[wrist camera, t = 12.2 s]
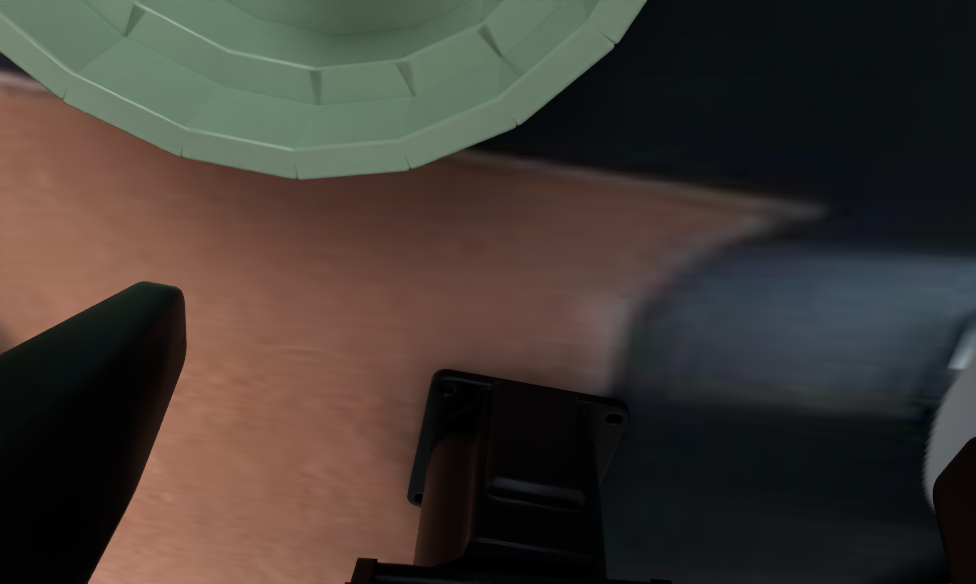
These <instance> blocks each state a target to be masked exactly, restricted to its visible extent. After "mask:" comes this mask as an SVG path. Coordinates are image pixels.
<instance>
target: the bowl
mask: <svg viewBox="0 0 976 584" xmlns="http://www.w3.org/2000/svg"><path fill="white" fill-rule="evenodd" d="M646 2H647V0H0V52H1V53H2V54H4V55H5V56H6V57H8V58H9V59H10V60H11V61H13V62H14V63H15V64H16V65H18V66H19V67H20V68H21V69H23V70H24V71H25V72H27V73H28V74H29V75H30V76H32V77H33V78H34V79H35V80H37V81H38V82H39V83H40V84H42V85H43V86H44V87H46V88H47V89H48V90H49V91H51V92H52V93H53V94H54V95H56V96H57V97H58V98H60V99H64V102H65V103H66V104H69V105H71V106H73V107H75V108H77V109H79V110H81V111H83V112H85V113H87V114H90V115H92V116H94V117H96V118H98V119H100V120H102V121H104V122H106V123H108V124H111V125H113V126H115V127H117V128H119V129H121V130H123V131H125V132H127V133H129V134H132V135H134V136H136V137H138V138H140V139H142V140H144V141H146V142H148V143H150V144H153V145H155V146H157V147H159V148H161V149H163V150H165V151H167V152H169V153H171V154H174V155H176V156H178V157H181V156H183V157H184V158H187V159H192V160H197V161H202V162H207V163H212V164H218V165H223V166H228V167H233V168H238V169H243V170H248V171H253V172H258V173H263V174H268V175H273V176H278V177H284V178H289V179H297V178H298V179H299V180H307V179H319V178H331V177H343V176H354V175H366V174H378V173H390V172H402V171H408V170H410V168H411V169H415V168H418V167H420V166H423V165H425V164H428V163H430V162H433V161H435V160H438V159H440V158H443V157H445V156H448V155H450V154H453V153H455V152H457V151H460V150H462V149H465V148H467V147H470V146H472V145H475V144H477V143H480V142H482V141H485V140H487V139H490V138H492V137H495V136H497V135H499V134H502V133H504V132H507V131H509V130H512V129H514V128H515V127H516V126H517V125H521V124H522V123H524V122H525V121H526V120H527V119H528V118H530V117H531V116H532V115H533V114H535V113H536V112H537V111H538V110H539V109H541V108H542V107H543V106H544V105H546V104H547V103H548V102H549V101H550V100H552V99H553V98H554V97H555V96H556V95H558V94H559V93H560V92H561V91H563V90H564V89H565V88H566V87H567V86H569V85H570V84H571V83H572V82H573V81H575V80H576V79H577V78H578V77H580V76H581V75H582V74H583V73H584V72H586V71H587V70H588V69H589V68H590V67H592V66H593V65H594V64H595V63H597V62H598V61H599V60H600V59H601V58H603V57H604V56H605V55H606V54H607V53H609V52H610V51H611V50H612V49H613V48H614V46H615V45H614V44H617V43H618V42H620V40H621V39H622V37H623V36H624V34H625V33H626V31H627V30H628V28H629V27H630V25H631V24H632V23H633V21H634V20H635V18H636V17H637V15H638V14H639V12H640V11H641V9H642V8H643V6H644V5H645V3H646Z"/></svg>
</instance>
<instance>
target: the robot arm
mask: <svg viewBox="0 0 976 584" xmlns="http://www.w3.org/2000/svg"><path fill="white" fill-rule="evenodd" d="M186 349H187V341H186V319H185V300H184V296H183V293H182V291H181V290H180V289H179V288H178V287H175V286H169V285H164V284H158V283H153V282H144V281H143V282H139V283H136V284H134V285H132V286H130V287H128V288H127V289H125V290H123V291H121V292H119V293H117V294H115V295H113V296H111V297H109V298H107V299H106V300H104V301H102V302H100V303H98V304H96V305H94V306H92V307H90V308H88V309H86V310H85V311H83V312H81V313H79V314H77V315H75V316H73V317H71V318H69V319H67V320H65V321H64V322H62V323H60V324H58V325H56V326H54V327H52V328H50V329H48V330H46V331H44V332H42V333H41V334H39V335H37V336H35V337H33V338H31V339H29V340H27V341H25V342H23V343H21V344H20V345H18V346H16V347H14V348H12V349H10V350H8V351H6V352H4V353H2V354H0V584H88V582H89V580H90V578H91V576H92V574H93V572H94V570H95V568H96V566H97V564H98V563H99V561H100V559H101V557H102V555H103V553H104V551H105V549H106V547H107V545H108V543H109V542H110V540H111V538H112V536H113V534H114V532H115V530H116V528H117V526H118V524H119V522H120V521H121V519H122V517H123V515H124V513H125V511H126V509H127V507H128V505H129V503H130V501H131V499H132V497H133V495H134V493H135V490H136V488H137V486H138V483H139V481H140V478H141V476H142V473H143V471H144V468H145V466H146V463H147V460H148V458H149V455H150V452H151V450H152V447H153V445H154V442H155V439H156V437H157V434H158V431H159V429H160V426H161V423H162V421H163V418H164V416H165V413H166V410H167V408H168V405H169V402H170V400H171V397H172V394H173V392H174V389H175V386H176V384H177V381H178V379H179V376H180V373H181V371H182V368H183V365H184V361H185V356H186ZM447 383H448V384H450V385H452V386H444V385H442V384H447ZM610 414H617V415H615V416H610ZM628 422H629V412H628V407H627V405H626V404H625V403H624V402H623V401H620V400H617V399H612V398H606V397H600V396H595V395H589V394H584V393H578V392H573V391H567V390H562V389H556V388H550V387H545V386H539V385H534V384H528V383H523V382H517V381H511V380H506V379H500V378H495V377H489V376H484V375H478V374H473V373H467V372H461V371H456V370H450V369H443V370H439V371H437V372H436V373H435V374H434V375H433V377H432V381H431V385H430V390H429V395H428V399H427V404H426V409H425V413H424V418H423V423H422V427H421V432H420V437H419V441H418V446H417V451H416V455H415V460H414V465H413V469H412V474H411V479H410V483H409V488H408V495H407V498H408V500H409V502H410V503H411V504H413V505H415V506H419V507H421V514H420V521H419V528H418V535H417V542H416V549H415V556H414V563H413V565H408V564H394V563H380V562H378V559H371V558H358V559H357V562H356V566H355V569H354V572H353V575H352V579H351V582H345V584H672V582H671V580H658V579H651V580H650V582H640V581H626V580H613V579H607V570H606V559H605V548H604V537H603V525H602V514H601V503H600V492H599V487H600V485H601V483H602V481H603V478H604V476H605V474H606V472H607V469H608V467H609V465H610V463H611V460H612V458H613V456H614V454H615V451H616V449H617V447H618V445H619V442H620V440H621V438H622V436H623V433H624V431H625V429H626V427H627V424H628ZM421 493H422V494H421ZM933 503H934V507H935V512H936V516H937V521H938V526H939V530H940V535H941V539H942V544H943V548H944V553H945V558H946V562H947V567H948V571H949V576H950V581H951V584H976V437H974V438H972V439H970V440H969V441H968V442H967V443H966V444H965V445H964V447H963V448H962V449H961V450H960V451H959V453H958V454H957V455H956V456H955V457H954V458H953V460H952V461H951V462H950V463H949V464H948V466H947V467H946V468H945V469H944V470H943V471H942V473H941V474H940V475H939V476H938V478H937V479H936V481H935V484H934V487H933Z"/></svg>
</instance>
